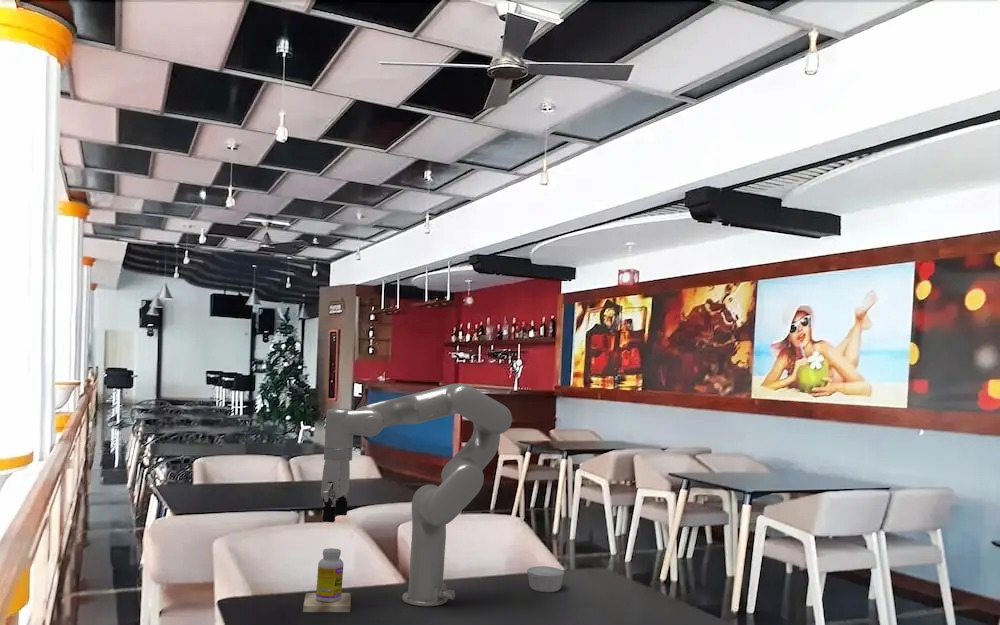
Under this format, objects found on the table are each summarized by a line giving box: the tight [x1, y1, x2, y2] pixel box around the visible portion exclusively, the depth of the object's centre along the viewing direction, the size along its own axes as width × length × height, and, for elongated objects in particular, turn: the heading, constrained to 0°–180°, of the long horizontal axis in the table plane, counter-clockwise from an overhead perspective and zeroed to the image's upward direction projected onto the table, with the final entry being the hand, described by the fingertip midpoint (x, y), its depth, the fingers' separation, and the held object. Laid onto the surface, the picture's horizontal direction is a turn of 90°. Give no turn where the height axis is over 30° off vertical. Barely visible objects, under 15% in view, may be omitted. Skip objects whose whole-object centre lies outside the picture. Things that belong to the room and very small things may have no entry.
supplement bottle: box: [315, 548, 344, 602], centre depth 213 cm, size 7×7×13 cm
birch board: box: [302, 592, 352, 613], centre depth 212 cm, size 12×12×2 cm
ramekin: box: [526, 565, 565, 593], centre depth 241 cm, size 11×11×5 cm
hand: (334, 518), depth 214 cm, fingers open, 9 cm apart
